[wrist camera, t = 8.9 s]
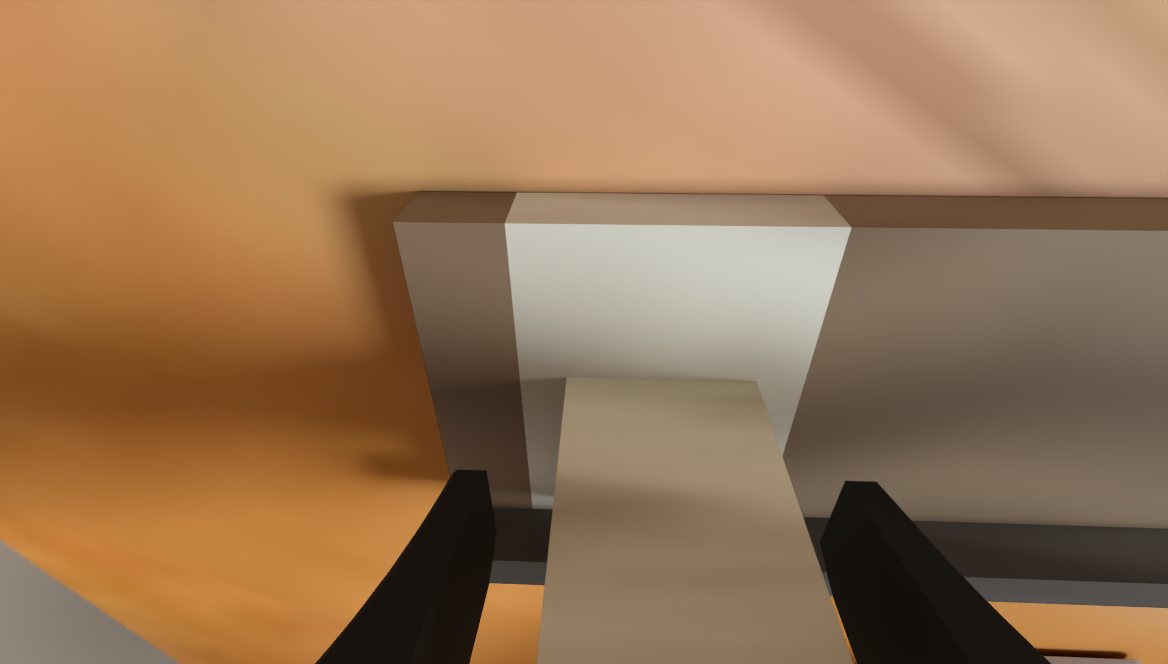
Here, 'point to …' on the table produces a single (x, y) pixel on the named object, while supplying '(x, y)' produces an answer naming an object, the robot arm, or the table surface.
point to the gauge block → (679, 533)
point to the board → (830, 359)
